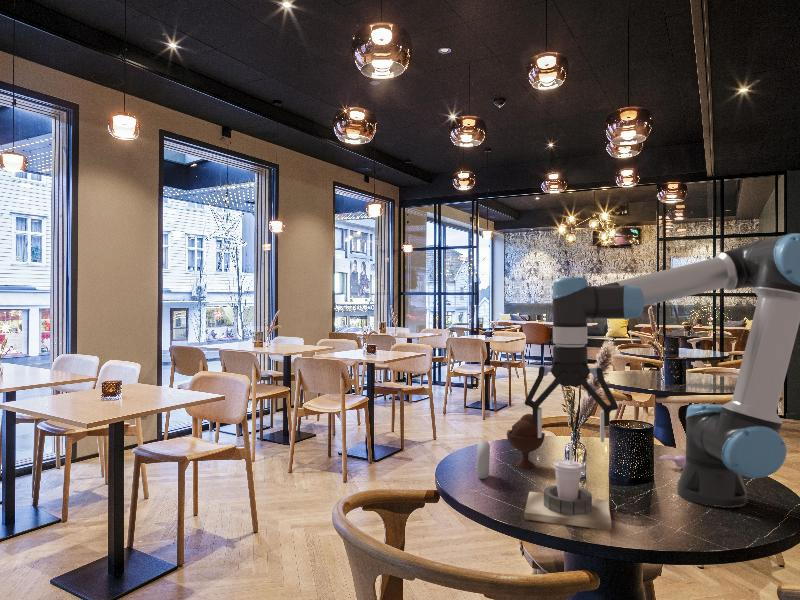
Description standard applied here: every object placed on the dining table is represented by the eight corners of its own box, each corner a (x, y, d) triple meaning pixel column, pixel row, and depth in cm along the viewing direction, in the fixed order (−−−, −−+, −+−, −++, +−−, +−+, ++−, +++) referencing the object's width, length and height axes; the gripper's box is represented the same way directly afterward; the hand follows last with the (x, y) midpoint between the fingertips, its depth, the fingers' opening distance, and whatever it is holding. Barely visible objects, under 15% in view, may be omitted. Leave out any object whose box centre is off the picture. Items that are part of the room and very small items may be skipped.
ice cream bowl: (515, 458, 171) (515, 408, 171) (550, 465, 165) (551, 413, 165) (499, 466, 163) (500, 414, 163) (536, 474, 156) (537, 420, 156)
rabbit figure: (710, 473, 164) (655, 461, 167) (714, 453, 164) (659, 441, 167) (717, 480, 158) (660, 467, 161) (721, 459, 157) (665, 446, 161)
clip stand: (607, 506, 133) (607, 487, 133) (611, 530, 120) (611, 509, 119) (529, 497, 138) (529, 479, 138) (524, 519, 125) (524, 498, 125)
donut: (489, 484, 147) (489, 446, 147) (475, 483, 148) (476, 445, 148) (489, 472, 157) (490, 436, 157) (477, 471, 158) (477, 436, 158)
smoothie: (583, 512, 125) (584, 449, 125) (553, 510, 126) (554, 447, 126) (580, 502, 131) (581, 442, 131) (551, 500, 133) (552, 440, 132)
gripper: (627, 344, 128) (627, 438, 129) (515, 342, 136) (516, 431, 136) (630, 347, 121) (631, 446, 121) (512, 345, 128) (513, 438, 129)
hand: (570, 438), depth 129 cm, fingers open, 13 cm apart
